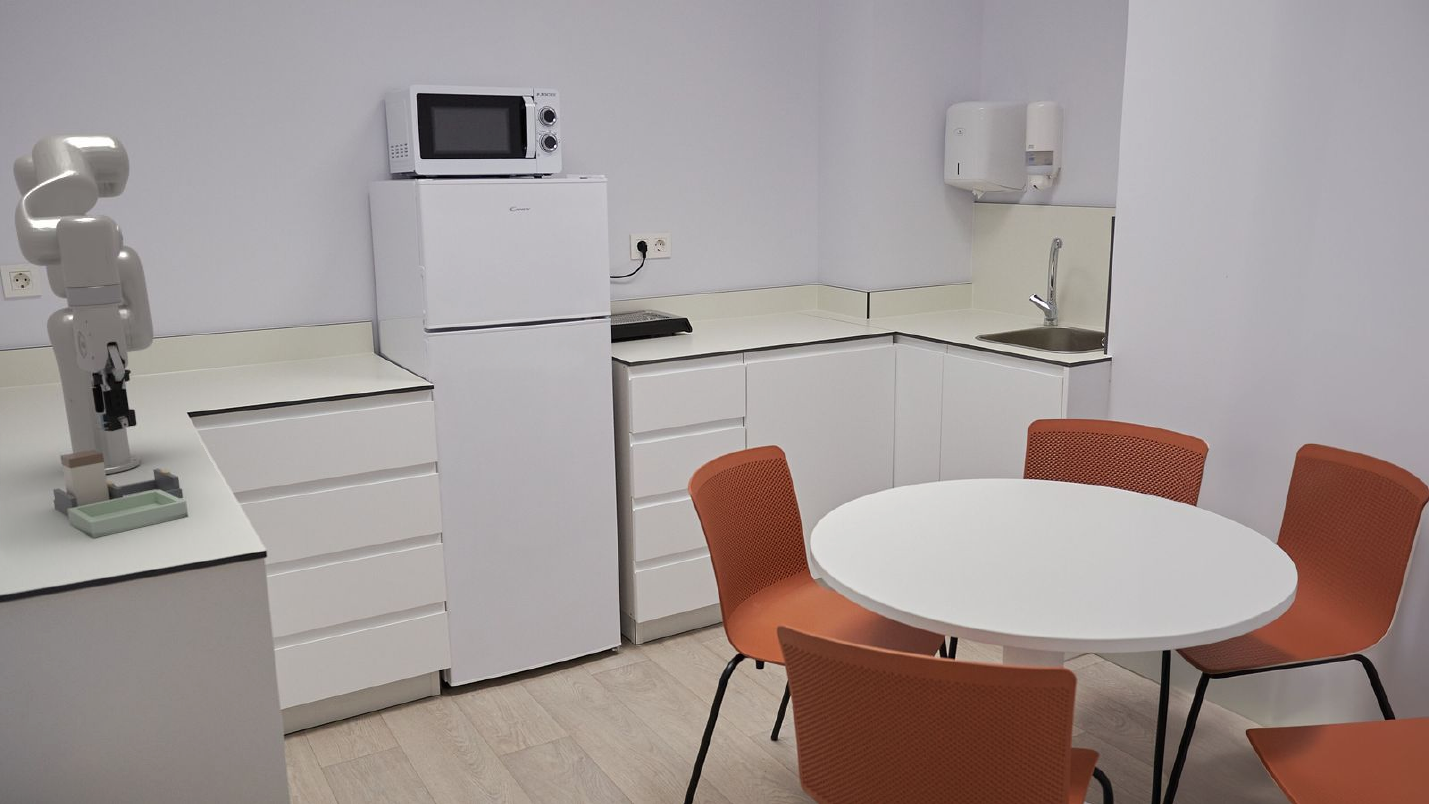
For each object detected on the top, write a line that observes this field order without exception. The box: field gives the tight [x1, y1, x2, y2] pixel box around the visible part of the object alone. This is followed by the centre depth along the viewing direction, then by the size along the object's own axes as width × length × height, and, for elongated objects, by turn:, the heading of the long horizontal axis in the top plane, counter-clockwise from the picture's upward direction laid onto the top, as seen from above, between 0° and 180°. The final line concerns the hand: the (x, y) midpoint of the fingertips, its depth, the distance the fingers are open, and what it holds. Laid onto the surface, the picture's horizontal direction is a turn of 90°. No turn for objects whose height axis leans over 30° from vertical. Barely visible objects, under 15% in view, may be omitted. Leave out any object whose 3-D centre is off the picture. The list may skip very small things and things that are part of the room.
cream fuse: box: [60, 450, 110, 507], centre depth 183 cm, size 5×5×10 cm
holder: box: [52, 468, 184, 517], centre depth 187 cm, size 12×17×4 cm
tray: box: [67, 489, 189, 539], centre depth 176 cm, size 12×14×2 cm
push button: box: [92, 367, 137, 431], centre depth 173 cm, size 7×5×10 cm
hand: (112, 411), depth 173 cm, fingers closed on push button, 4 cm apart
